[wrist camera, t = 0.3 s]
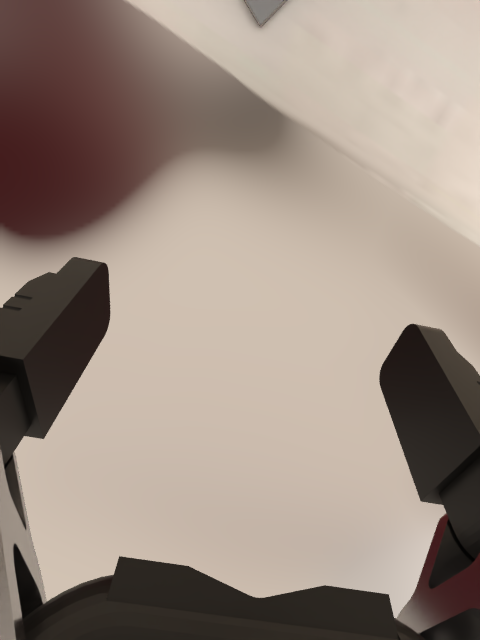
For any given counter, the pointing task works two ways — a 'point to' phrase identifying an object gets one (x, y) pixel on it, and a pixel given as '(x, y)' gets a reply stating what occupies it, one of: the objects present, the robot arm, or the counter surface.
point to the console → (263, 9)
